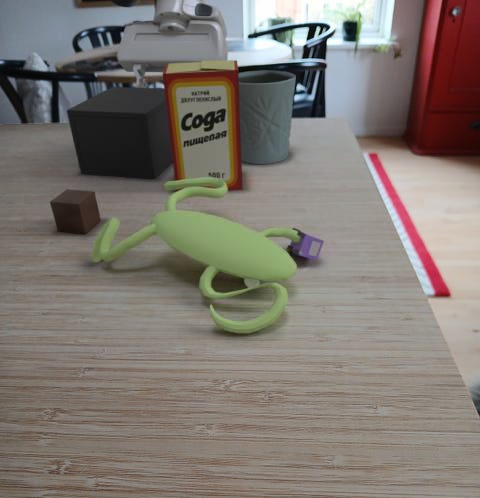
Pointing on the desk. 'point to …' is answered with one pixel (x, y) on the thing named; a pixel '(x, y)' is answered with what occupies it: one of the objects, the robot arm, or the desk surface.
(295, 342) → the desk surface
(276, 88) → the grey green embossed cup
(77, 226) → the block
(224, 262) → the figurine
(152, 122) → the dark grey box
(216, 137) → the baking soda box
